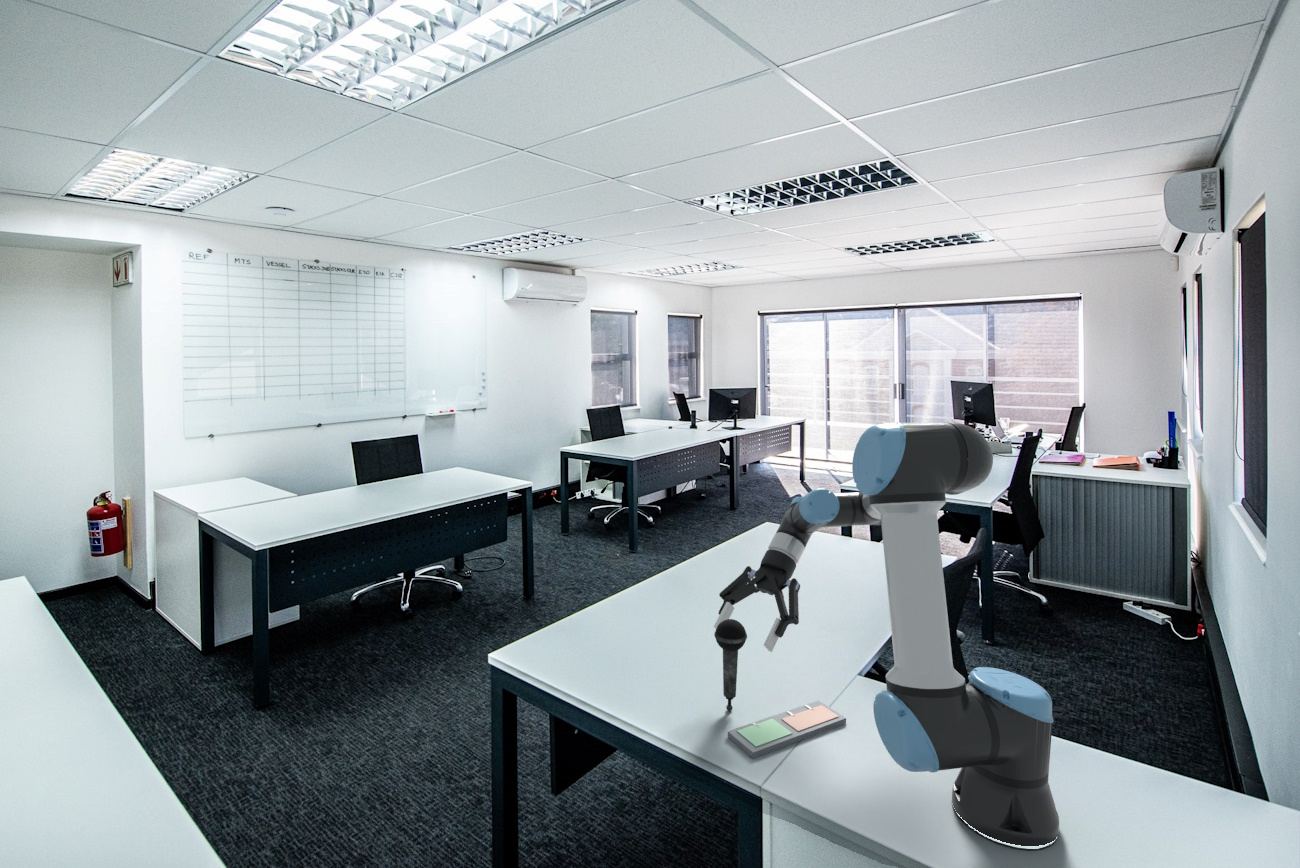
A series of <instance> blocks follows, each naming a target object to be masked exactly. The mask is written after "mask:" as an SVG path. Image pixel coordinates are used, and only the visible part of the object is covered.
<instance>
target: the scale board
mask: <svg viewBox="0 0 1300 868" xmlns="http://www.w3.org/2000/svg"><path fill="white" fill-rule="evenodd" d="M843 725H847V717H845V716H844V715H842V714H841V713H839V712H838V711H836V710H834V709H833V708H831V707H829V706H828V705H827V704H825V703H824V702H821V701H820V700H818V699H817V700H815V701H813V702H810V703H806V704H804V705H802V706H801V705H800V706H798V707H795V708H792V709H790V710H786V711H783V712H780V713H777V714H774V715H772V716H768V717H766V718H763V719H759V720H756V721H754V722H751V723H748V724H745V725H743V726H738V727H736V728H734V729H730V730H727V738H728V739H729V740H731V741H732V742H733V743H734V744H735V745H736V746H737V747H739V748H740V749H741V750H742V751H743V752H744V753H746V754H747V755H748V756H749V755H750V756H749V757H751V759H756V758H758V757H760V755H761V756H763V755H766V754H769V753H771V752H773V751H776V750H780V749H782V748H784V747H785V748H786V747H787V746H790V745H793V744H795V743H798V742H801V741H804V740H806V739H808V738H811V737H814V736H817V735H819V734H822V733H825V732H827V731H830V730H832V729H835V728H837V727H841V726H843ZM757 756H758V757H757ZM755 757H756V758H755Z"/></svg>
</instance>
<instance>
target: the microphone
mask: <svg viewBox="0 0 1300 868" xmlns="http://www.w3.org/2000/svg"><path fill="white" fill-rule="evenodd" d="M713 635H714V638H715V641H716V643H717V644H718V646H719V647H720V648H721V649H722V667H723V668H722V671H723V672H722V677H723V679H722V682H723V684H722V685H723V697H724V698H725V699H726V700H727V705H726V707H725V708H726V710H727V711H729V712H731V711H732V710H733V705H732V701H733V699H734V698H735V697H736V695H737V681H738V680H737V679H738V661H739V660H738V658H739V657H738V655H739V650H741V649H742V647H743V646H744V645H745V643H746V640H747V638H748V634H747V631H746V629H745V627H744V625H743V624H742V623H741V622H740V621H738V620H737V619H734V618H733V619H732V618H729V619H727V620H724V621H722V622H721V623H720V624H719V625H718V626H717V628H716V629H715V630H714V634H713Z"/></svg>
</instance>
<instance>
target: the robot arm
mask: <svg viewBox="0 0 1300 868" xmlns="http://www.w3.org/2000/svg"><path fill="white" fill-rule="evenodd" d="M993 464H994V456H993V450H992V447H991V446H990V443H989V442H988V440H987V439H986V437H985V436H984V435H983V434H982V433H981V432H979V431H978V430H977V429H974V427H971V426H969V425H966V424H965V423H960V422H953V421H952V422H950V421H948V422H947V421H946V422H945V421H943V422H899V421H898V422H897V421H896V422H891V423H884V424H883V423H882V424H881V423H880V424H875V425H873V426H869V428H867V429H865V431H863V433H862V434H861V435H860V437H859V438H858V441H857V443H856V445H855V448H854V451H853V456H852V468H851V469H852V478H853V482H854V483H855V484H856V485H855V487H856V489H857V490H858V491H856V492H855V491H854V492H852V491H851V492H833V491H831V490H829V489H826V488H824V487H823V488H821V487H820V488H815V489H812V490H811V491H810V492H808V493H806V494H805V495H803V496H796V497H794V498H793V499H792V500H791V503H790V505H788V507H787V508H786V512H785V514H784V516H783V517H782V520H781V523H780V524H779V527H778V528H777V530H776V532H775V534H774V536H773V538H772V539H771V542H770V543H769V545H768V547H767V548H768V549H767V550H766V551H765V553H764V555H763V557H762V559H761V562H760V567H759V568H758V569H757V570H755V569H752V567H751V566H746V567H745V568H744V570H743V572H742V573H741V574H740V575H738V576H737V578H735V579H734V580H733V581H731V583H729V584H728V585H727V586H726V587H725V588H724V589H722V591H720V592H719V594H718V595H719V597H720V599H722V600H723V603H722V605H721V606H720V608H719V610H718V615H719V616H718V618H717V619H716V621H715V623H714V625H713V628H714V629H715V630H716V628H717V626H718V625H719V624H720V623H721V622H722V621H724V620H727V619H731V615H732V614H733V611H734V610H735V607H734V605H735V604H737V603H739V602H741V601H743V600H744V599H746V598H748V597H750V596H751V595H753V594H754V593H763V594H768V595H770V596H773V595H774V599H775V602H776V606H777V610H778V614H779V617H776V618H775V620H774V623H773V624H772V627H771V629H770V631H769V633H768V635H767V637H766V639H765V641H764V644H763V646H764V647H765V648H766V649H767V651H768V652H771V653H772V652H773V650H774V648H775V647H776V643H777V642H778V640H779V638H782V637H783V636H784V634H785V633H786V630H787V628H788V626H789V625H794V626H795V625H799V622H800V621H799V620H800V618H799V614H800V613H799V592H800V588H801V584H800V583H799V582H798V580H797V578H793V577H792V576H793V574H794V573H795V570H796V568H797V564H798V563H799V561H800V559H801V557H802V555H803V553H804V550H805V549H806V547H807V544H808V542H809V541H810V538H811V537H812V535H813V533H816V532H817V531H818V530H820V529H821V528H833V527H837V528H838V527H851V526H881V534H882V535H881V536H882V545H883V553H884V554H883V555H884V556H883V557H884V566H885V567H884V568H885V577H886V578H885V579H886V588H887V598H888V608H889V621H890V631H891V640H892V652H893V662H894V665H893V666H892V667H891V669H890V670H889V671H888V672H887V673H886V674H885V682H886V683H885V684H886V690H881V691H880V692H878V693H877V694H876V695H875V698H874V701H873V708H872V709H873V716H874V722H875V725H876V729H877V731H878V736H879V737H880V740H881V741H882V744H883V745H884V747H885V749H886V751H887V753H888V754H889V755H890V757H891V759H892V760H894V762H895V763H897V765H898V766H899V767H901V768H902V769H903V770H905V771H908V772H911V773H912V772H913V773H919V772H920V773H922V772H923V773H924V772H929V773H938V772H939V771H946V770H947V771H948V770H955V769H960V771H959V772H958V774H957V775H956V779H955V781H954V783H953V785H952V791H951V804H952V803H953V806H954V808H955V810H956V812H957V813H958V814H959V815H960V817H962V819H963V820H965V821H966V822H967V823H968V824H969V825H970V826H972V827H973V828H975V829H976V830H978V831H979V832H981V833H983V834H985V835H987V836H989V837H992V838H994V839H997V840H1000V841H1002V842H1006V843H1010V844H1015V845H1021V846H1039V845H1045V844H1047V843H1050V842H1052V841H1054V840H1055V839H1056V837H1057V836H1058V837H1059V834H1058V833H1060V830H1059V829H1060V818H1059V817H1060V816H1059V814H1058V811H1057V807H1056V803H1055V801H1054V796H1053V794H1052V790H1051V787H1050V783H1049V773H1050V757H1051V756H1050V755H1051V748H1052V747H1051V746H1052V745H1051V744H1052V733H1053V723H1054V717H1053V700H1052V697H1051V695H1050V694H1049V692H1048V691H1047V690H1046V689H1045V688H1044V687H1042V686H1041V685H1040V684H1039V683H1036V682H1035V681H1033V680H1031V679H1029V678H1028V677H1025V676H1023V675H1022V674H1021V675H1020V674H1018V673H1015V672H1011V671H1008V670H1004V669H1000V668H996V667H988V666H987V667H986V666H979V667H975V668H972V669H971V671H970V672H969V675H968V676H967V680H968V683H966V678H965V677H964V676H963V675H962V674H960V673H959V672H958V671H957V670H956V669H955V668H954V663H953V654H952V645H951V636H950V634H951V633H950V627H949V626H950V625H949V616H948V606H947V598H946V588H945V577H944V568H943V560H942V549H941V548H942V547H941V540H940V531H939V529H940V528H939V522H938V521H939V520H938V512H939V511H940V510H941V509H942V508H943V507H944V506H945V505H946V504H947V499H946V495H948V496H955V495H959V494H962V493H965V492H967V491H971V490H972V489H974V488H976V487H978V486H980V485H981V484H982V483H983V482H985V481H986V480H987V478H988V477H989V476H990V473H991V471H992V468H993ZM791 578H792V579H791ZM786 588H788V609H787V605H786V601H785V598H784V597H785V596H784V593H783V590H784V589H786ZM953 806H952V807H953Z"/></svg>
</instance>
